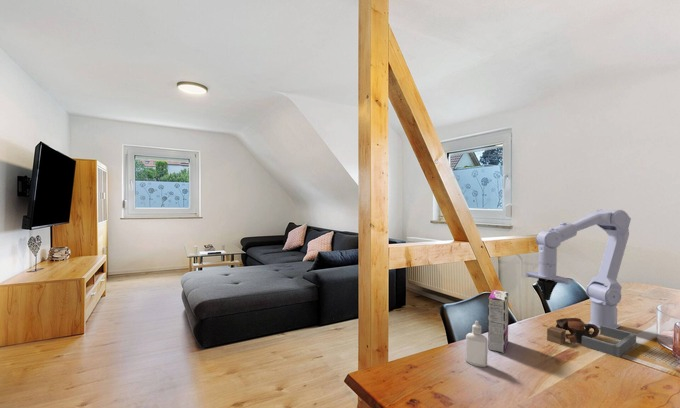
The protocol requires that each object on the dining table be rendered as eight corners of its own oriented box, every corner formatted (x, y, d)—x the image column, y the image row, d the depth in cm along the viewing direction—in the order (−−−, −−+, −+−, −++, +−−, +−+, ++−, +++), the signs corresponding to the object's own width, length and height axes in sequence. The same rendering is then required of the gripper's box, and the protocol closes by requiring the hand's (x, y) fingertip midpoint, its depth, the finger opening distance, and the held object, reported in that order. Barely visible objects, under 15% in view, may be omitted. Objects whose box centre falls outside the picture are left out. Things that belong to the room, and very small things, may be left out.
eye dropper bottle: (479, 369, 89) (480, 325, 89) (462, 360, 94) (463, 319, 94) (489, 366, 91) (490, 323, 91) (473, 357, 96) (474, 316, 96)
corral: (601, 333, 116) (601, 325, 116) (636, 343, 108) (636, 333, 108) (581, 345, 106) (581, 336, 106) (618, 357, 98) (618, 347, 98)
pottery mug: (560, 343, 108) (552, 317, 112) (560, 347, 115) (553, 323, 119) (604, 342, 103) (595, 315, 107) (602, 346, 110) (593, 320, 114)
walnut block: (552, 337, 112) (552, 326, 112) (565, 342, 109) (565, 330, 108) (547, 340, 109) (547, 328, 109) (560, 344, 106) (560, 332, 106)
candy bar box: (491, 337, 111) (492, 289, 111) (508, 341, 108) (509, 291, 108) (486, 349, 101) (487, 297, 101) (504, 354, 99) (505, 299, 99)
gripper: (522, 261, 126) (521, 296, 126) (565, 267, 114) (564, 306, 114) (530, 259, 130) (530, 293, 130) (573, 265, 118) (572, 303, 118)
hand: (546, 299), depth 122 cm, fingers closed
